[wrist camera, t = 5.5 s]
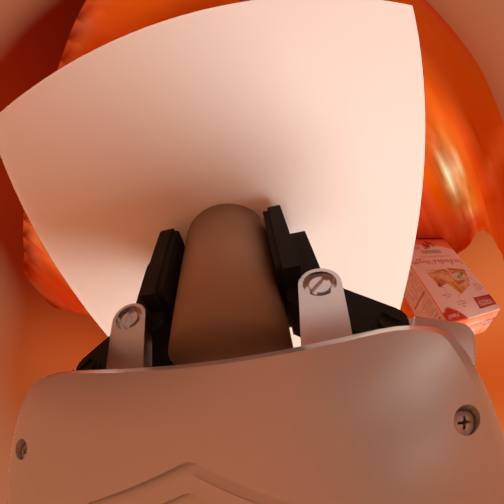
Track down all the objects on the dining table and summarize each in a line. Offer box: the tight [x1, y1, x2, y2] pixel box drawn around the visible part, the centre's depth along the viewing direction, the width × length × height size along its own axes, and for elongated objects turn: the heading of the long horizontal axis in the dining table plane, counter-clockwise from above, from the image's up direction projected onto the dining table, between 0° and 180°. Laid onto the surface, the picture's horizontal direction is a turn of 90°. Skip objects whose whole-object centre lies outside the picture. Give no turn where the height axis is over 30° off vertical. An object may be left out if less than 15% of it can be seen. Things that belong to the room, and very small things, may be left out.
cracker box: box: [404, 239, 500, 335], centre depth 40 cm, size 14×6×21 cm, turn 89°
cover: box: [0, 0, 425, 365], centre depth 15 cm, size 19×19×18 cm
